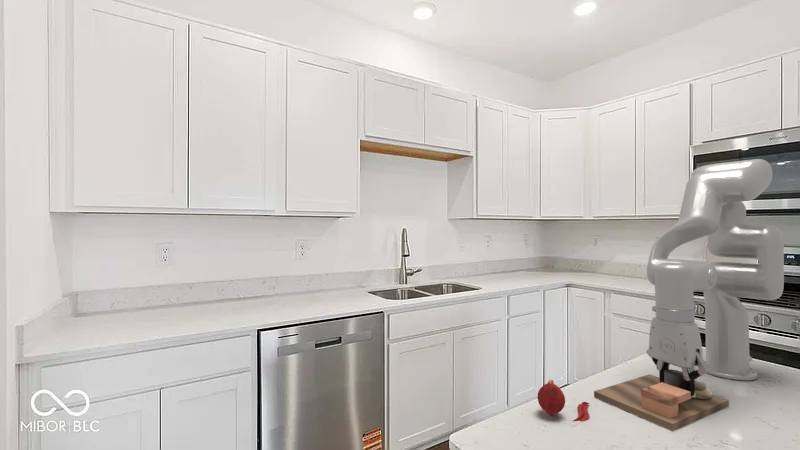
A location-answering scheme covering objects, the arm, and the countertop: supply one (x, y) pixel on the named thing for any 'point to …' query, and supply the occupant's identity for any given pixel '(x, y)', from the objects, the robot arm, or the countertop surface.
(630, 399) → the board
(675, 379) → the link
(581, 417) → the cayenne pepper
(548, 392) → the red rounded oval piece
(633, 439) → the countertop surface
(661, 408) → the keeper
